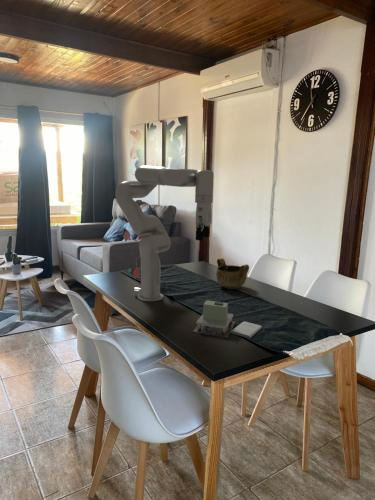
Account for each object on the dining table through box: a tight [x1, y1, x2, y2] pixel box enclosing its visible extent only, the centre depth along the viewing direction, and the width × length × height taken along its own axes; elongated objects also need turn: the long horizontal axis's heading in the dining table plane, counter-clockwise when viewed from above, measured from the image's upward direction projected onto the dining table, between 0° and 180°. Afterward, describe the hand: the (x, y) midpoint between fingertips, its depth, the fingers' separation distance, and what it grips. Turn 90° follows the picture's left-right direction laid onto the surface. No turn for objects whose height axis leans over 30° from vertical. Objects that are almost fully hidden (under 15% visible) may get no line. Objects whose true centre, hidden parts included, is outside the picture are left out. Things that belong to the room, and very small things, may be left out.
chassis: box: [192, 312, 236, 339], centre depth 150 cm, size 14×16×4 cm
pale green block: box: [202, 300, 229, 322], centre depth 149 cm, size 9×5×7 cm, turn 72°
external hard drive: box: [230, 321, 263, 339], centre depth 148 cm, size 2×8×12 cm
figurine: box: [123, 230, 150, 279], centre depth 214 cm, size 15×26×35 cm, turn 122°
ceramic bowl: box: [215, 257, 250, 290], centre depth 204 cm, size 22×17×15 cm
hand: (202, 238), depth 162 cm, fingers open, 9 cm apart
